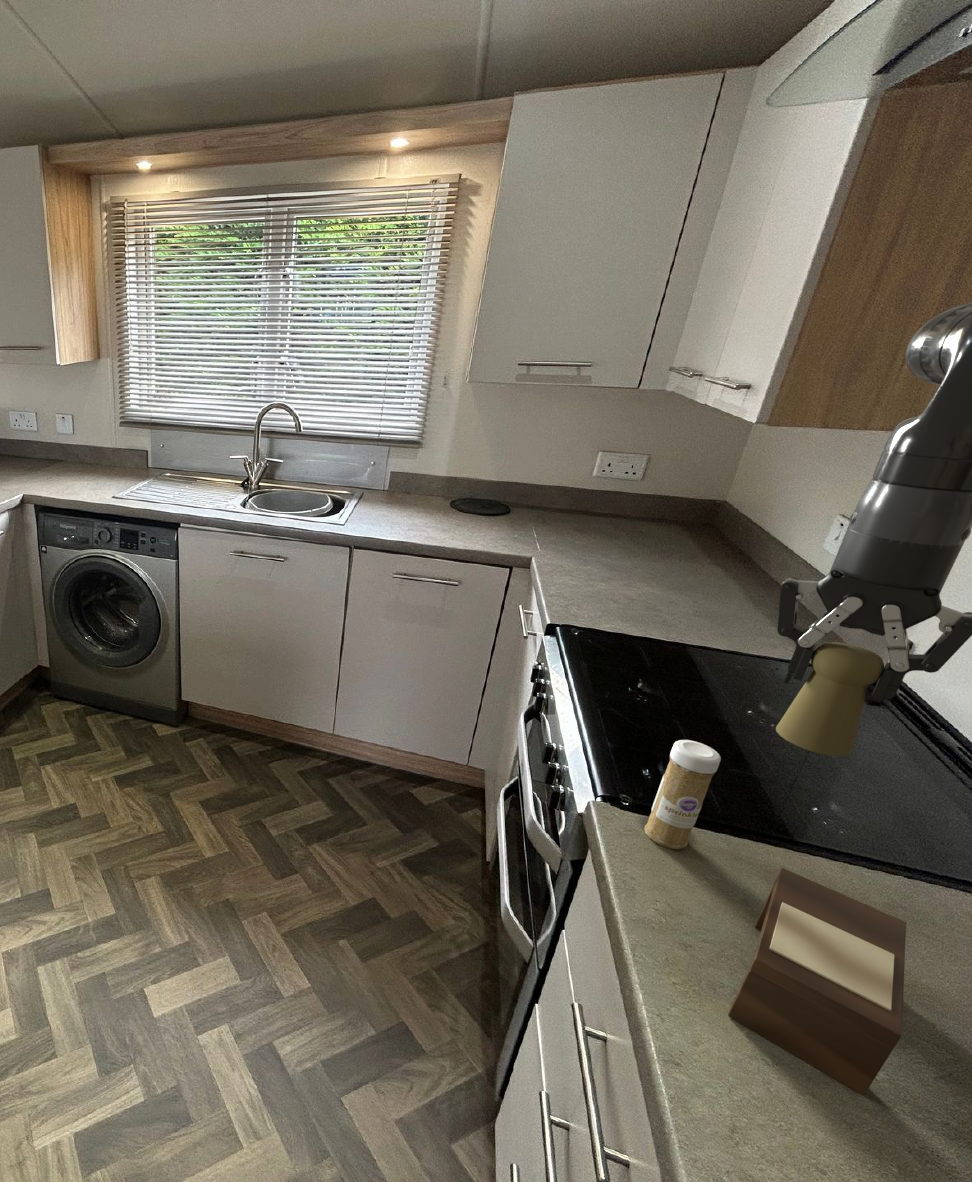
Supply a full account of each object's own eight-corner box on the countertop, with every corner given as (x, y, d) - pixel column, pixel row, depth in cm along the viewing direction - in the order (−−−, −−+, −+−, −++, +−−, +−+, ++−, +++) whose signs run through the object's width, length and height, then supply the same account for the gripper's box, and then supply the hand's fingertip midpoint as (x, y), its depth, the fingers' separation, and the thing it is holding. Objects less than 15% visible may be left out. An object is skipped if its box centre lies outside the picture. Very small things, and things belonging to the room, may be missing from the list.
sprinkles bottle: (659, 850, 78) (692, 760, 73) (635, 824, 82) (665, 737, 78) (696, 851, 78) (732, 761, 73) (670, 825, 82) (702, 738, 78)
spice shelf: (756, 920, 69) (782, 865, 66) (874, 977, 63) (907, 920, 60) (727, 1016, 59) (755, 957, 56) (863, 1096, 53) (903, 1034, 50)
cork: (770, 718, 72) (806, 630, 68) (842, 734, 69) (884, 644, 65) (782, 744, 67) (821, 652, 63) (860, 763, 64) (906, 667, 60)
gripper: (1023, 541, 57) (938, 703, 63) (808, 510, 67) (753, 653, 73) (1028, 557, 52) (937, 731, 58) (797, 522, 62) (740, 673, 68)
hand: (835, 687), depth 66 cm, fingers closed on cork, 5 cm apart
